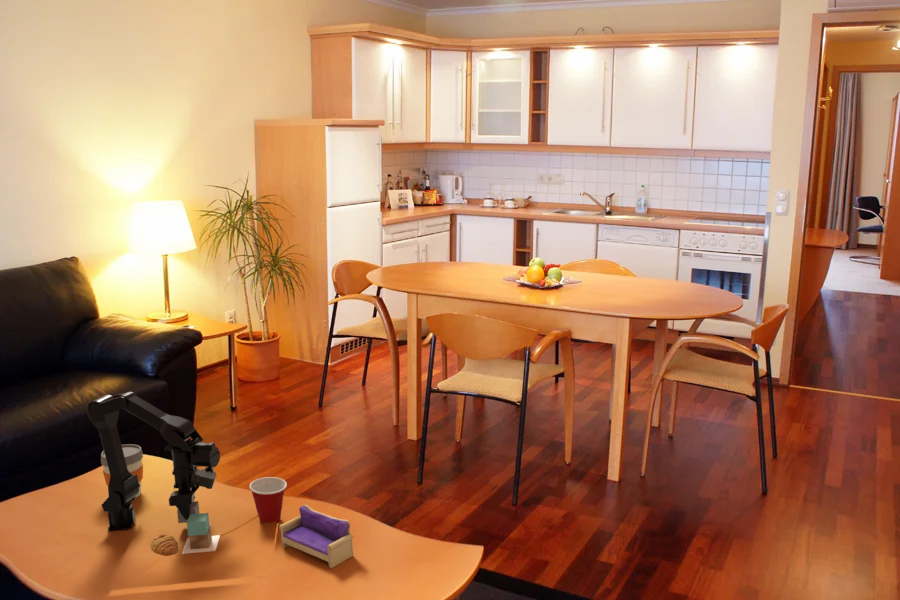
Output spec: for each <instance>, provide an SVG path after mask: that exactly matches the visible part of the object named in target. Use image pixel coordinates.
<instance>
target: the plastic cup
mask: <svg viewBox="0 0 900 600" xmlns="http://www.w3.org/2000/svg"><path fill="white" fill-rule="evenodd" d="M287 485H288V484H287V481H286V480H284V479H283V478H280V477H276V476H275V477H273V476H268V477H267V476H266V477H265V476H264V477H260V478H256V479H254V480H253V481H251V482H250V483H249V490H250V492H251V494H252V497H253V500H254V504H255V509H256V512H257V515H258V516H257V517H258V518H259V521H260V522H261V523H273V522H276V524H279V523H280V521H281V518H282V517H281V516H282V511H283V510H282V509H283V501H284V494H285V490H286V488H287Z"/></svg>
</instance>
